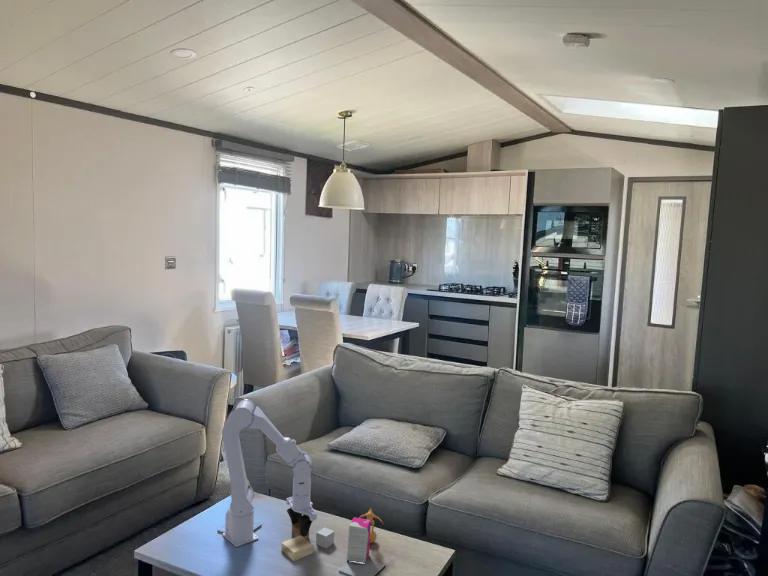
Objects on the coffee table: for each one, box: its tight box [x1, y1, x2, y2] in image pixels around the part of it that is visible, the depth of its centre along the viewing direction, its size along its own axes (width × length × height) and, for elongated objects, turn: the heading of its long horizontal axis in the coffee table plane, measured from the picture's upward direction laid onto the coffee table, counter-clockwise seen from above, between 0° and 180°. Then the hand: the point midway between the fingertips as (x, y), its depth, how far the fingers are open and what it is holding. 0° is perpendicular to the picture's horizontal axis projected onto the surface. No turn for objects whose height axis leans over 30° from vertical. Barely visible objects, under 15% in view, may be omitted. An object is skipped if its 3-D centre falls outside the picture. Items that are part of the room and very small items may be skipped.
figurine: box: [358, 508, 384, 544], centre depth 176 cm, size 8×6×12 cm
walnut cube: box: [291, 522, 310, 540], centre depth 178 cm, size 4×4×4 cm
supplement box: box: [346, 516, 372, 564], centre depth 167 cm, size 6×6×12 cm
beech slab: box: [281, 535, 314, 562], centre depth 170 cm, size 7×7×3 cm
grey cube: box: [315, 527, 335, 549], centre depth 175 cm, size 4×4×4 cm
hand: (300, 532), depth 178 cm, fingers closed on walnut cube, 4 cm apart
